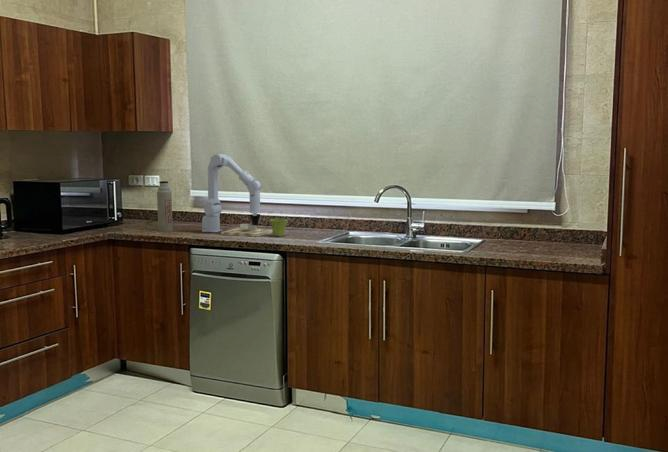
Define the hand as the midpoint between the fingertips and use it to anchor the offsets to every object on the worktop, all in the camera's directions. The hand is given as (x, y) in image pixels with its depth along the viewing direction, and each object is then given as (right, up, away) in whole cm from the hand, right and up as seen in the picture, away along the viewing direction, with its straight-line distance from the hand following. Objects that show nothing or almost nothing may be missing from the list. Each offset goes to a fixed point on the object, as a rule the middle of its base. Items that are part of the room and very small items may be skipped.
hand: (255, 227), depth 369 cm
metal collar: (-6, -2, +1) cm, 6 cm away
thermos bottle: (-53, -2, +15) cm, 55 cm away
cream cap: (-4, -1, 0) cm, 4 cm away
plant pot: (+14, -5, -7) cm, 16 cm away
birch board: (-5, -3, +1) cm, 6 cm away
